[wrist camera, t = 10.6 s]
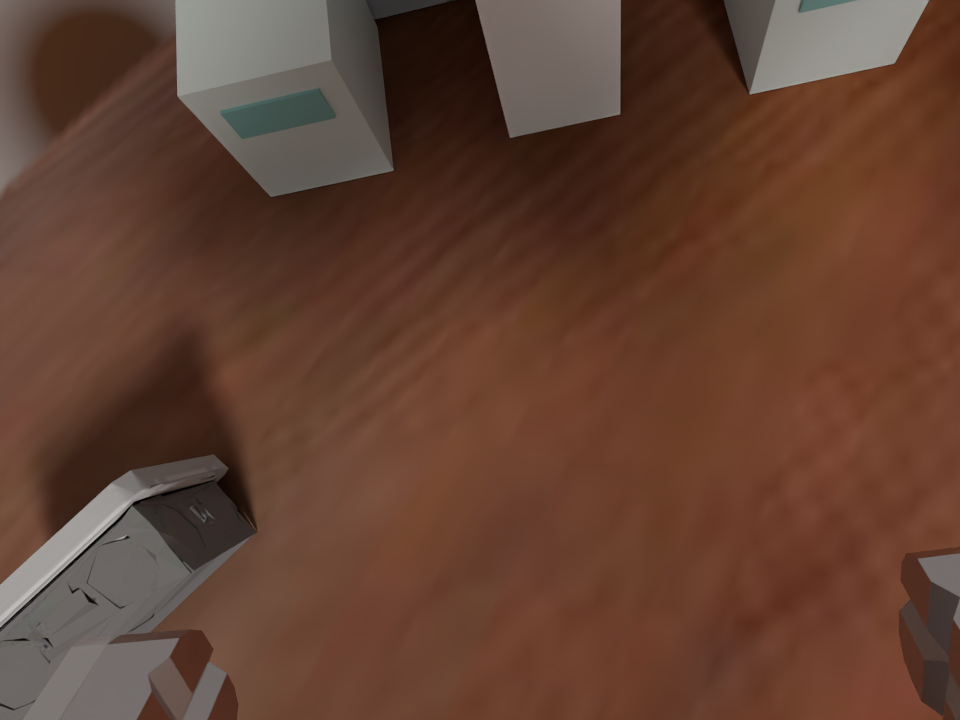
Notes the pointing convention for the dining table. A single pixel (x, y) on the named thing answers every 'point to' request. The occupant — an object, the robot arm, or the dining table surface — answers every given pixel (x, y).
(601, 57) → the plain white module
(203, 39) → the module left
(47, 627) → the electrical switch
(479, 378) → the dining table surface
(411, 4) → the rail panel
